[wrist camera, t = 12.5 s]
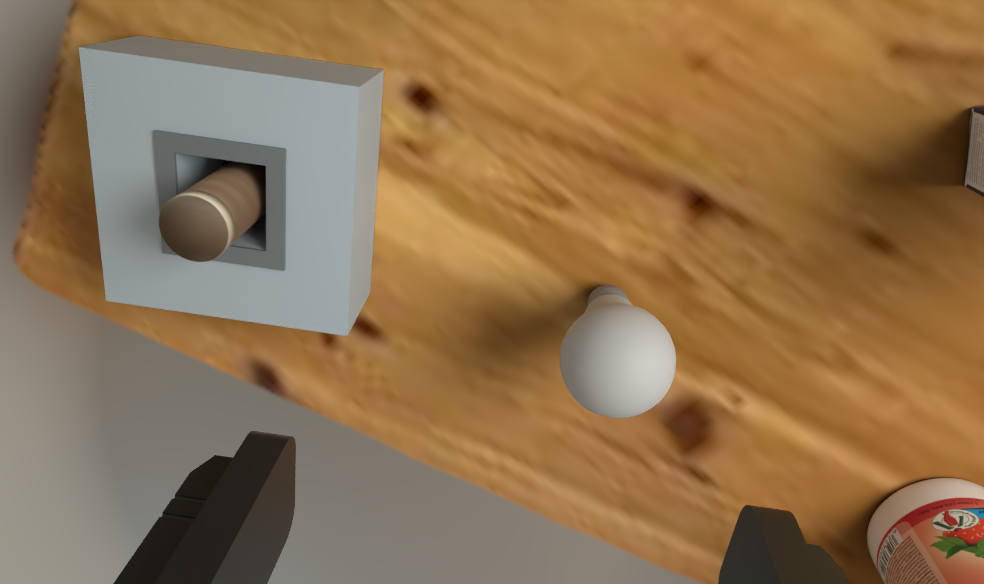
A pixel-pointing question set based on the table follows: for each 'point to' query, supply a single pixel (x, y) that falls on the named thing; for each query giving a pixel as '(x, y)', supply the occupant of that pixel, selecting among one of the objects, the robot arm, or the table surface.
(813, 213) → the table surface
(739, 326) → the table surface
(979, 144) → the candy bar box
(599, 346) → the lightbulb
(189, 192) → the dowel
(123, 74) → the socket block
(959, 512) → the fruit juice
